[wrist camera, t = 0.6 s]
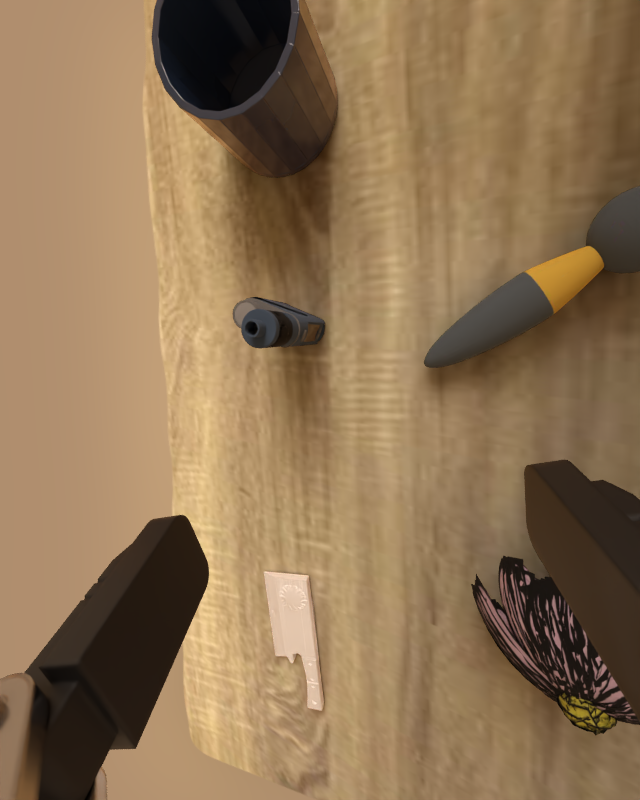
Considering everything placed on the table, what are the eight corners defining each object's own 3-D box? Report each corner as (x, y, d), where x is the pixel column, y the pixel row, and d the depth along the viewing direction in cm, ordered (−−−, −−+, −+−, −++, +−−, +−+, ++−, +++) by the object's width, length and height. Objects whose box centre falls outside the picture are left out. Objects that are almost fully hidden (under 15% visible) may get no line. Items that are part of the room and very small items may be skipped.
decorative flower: (425, 691, 24) (674, 645, 16) (427, 542, 34) (584, 460, 25) (575, 783, 27) (867, 787, 18) (538, 619, 36) (718, 569, 27)
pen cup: (284, 12, 29) (222, -123, 20) (363, 104, 28) (334, 5, 20) (207, 119, 32) (125, 41, 23) (276, 203, 31) (219, 155, 23)
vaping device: (320, 349, 32) (262, 357, 21) (270, 326, 33) (188, 323, 22) (331, 321, 32) (277, 315, 20) (280, 299, 33) (200, 281, 21)
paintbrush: (453, 399, 30) (457, 411, 25) (415, 352, 30) (412, 355, 25) (716, 215, 23) (788, 185, 19) (665, 157, 24) (723, 113, 19)
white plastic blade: (281, 693, 40) (276, 703, 39) (265, 569, 38) (260, 576, 37) (324, 703, 39) (321, 713, 38) (310, 575, 37) (306, 582, 36)
